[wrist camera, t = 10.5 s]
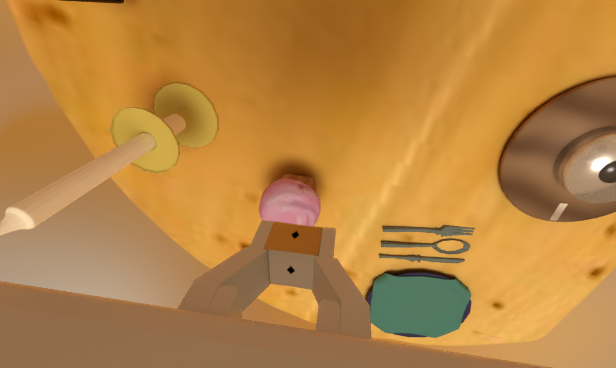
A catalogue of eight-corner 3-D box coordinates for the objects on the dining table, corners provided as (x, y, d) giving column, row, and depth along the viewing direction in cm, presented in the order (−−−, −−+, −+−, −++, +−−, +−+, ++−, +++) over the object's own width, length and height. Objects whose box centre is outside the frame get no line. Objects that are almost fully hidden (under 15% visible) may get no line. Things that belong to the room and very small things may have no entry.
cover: (577, 122, 33) (597, 131, 30) (660, 130, 32) (688, 140, 29) (539, 185, 38) (553, 198, 35) (611, 194, 37) (631, 207, 34)
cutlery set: (362, 324, 62) (362, 334, 60) (370, 219, 47) (371, 228, 45) (455, 333, 60) (459, 343, 58) (496, 224, 44) (503, 233, 43)
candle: (167, 147, 45) (-27, 285, 22) (144, 83, 39) (-141, 176, 17) (225, 147, 43) (81, 295, 20) (209, 80, 38) (-6, 179, 15)
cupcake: (314, 212, 47) (305, 255, 39) (266, 196, 47) (247, 236, 39) (331, 170, 43) (326, 209, 34) (278, 152, 42) (259, 186, 34)
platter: (540, 70, 31) (544, 71, 31) (742, 80, 29) (753, 82, 28) (477, 210, 42) (480, 213, 41) (623, 225, 40) (628, 229, 39)
